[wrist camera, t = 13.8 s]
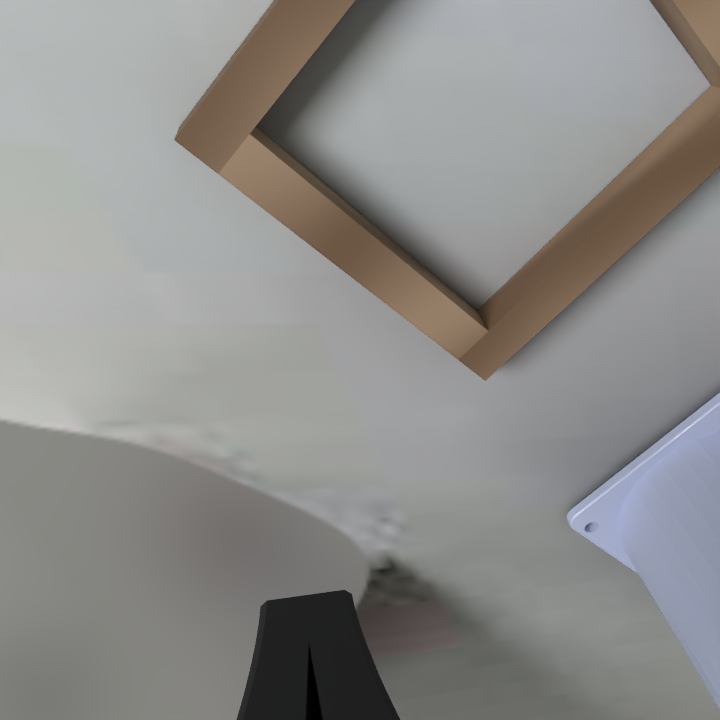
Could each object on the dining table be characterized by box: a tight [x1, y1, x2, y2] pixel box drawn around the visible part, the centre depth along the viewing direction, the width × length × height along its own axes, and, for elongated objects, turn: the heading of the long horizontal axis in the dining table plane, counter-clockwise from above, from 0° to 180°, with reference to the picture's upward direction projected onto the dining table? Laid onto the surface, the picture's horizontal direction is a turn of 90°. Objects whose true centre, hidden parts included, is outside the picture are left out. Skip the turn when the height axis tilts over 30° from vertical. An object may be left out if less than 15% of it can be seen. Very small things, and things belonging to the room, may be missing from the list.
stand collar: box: [175, 0, 720, 381], centre depth 17 cm, size 11×11×1 cm
